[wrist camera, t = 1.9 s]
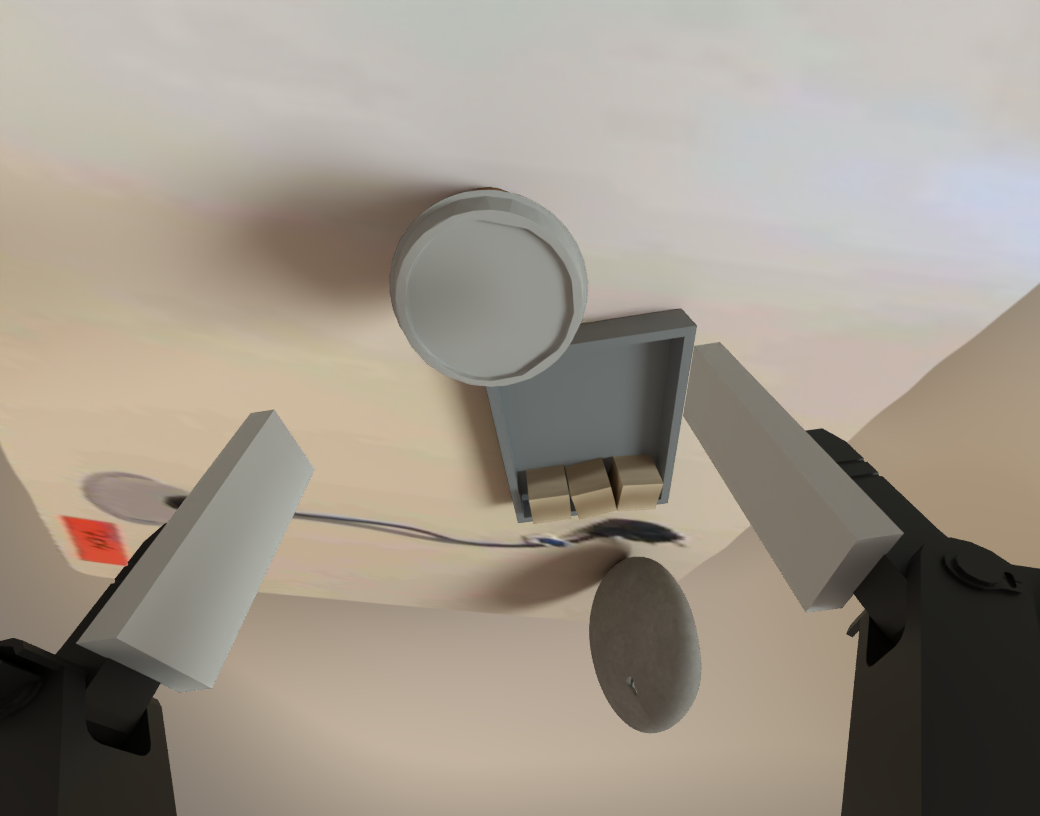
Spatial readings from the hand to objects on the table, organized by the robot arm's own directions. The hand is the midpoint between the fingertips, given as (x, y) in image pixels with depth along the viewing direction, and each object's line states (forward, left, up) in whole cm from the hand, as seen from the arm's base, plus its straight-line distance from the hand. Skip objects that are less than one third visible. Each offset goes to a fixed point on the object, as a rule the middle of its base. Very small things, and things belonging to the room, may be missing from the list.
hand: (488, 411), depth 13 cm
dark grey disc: (+47, +10, -19) cm, 52 cm away
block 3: (+25, +11, -19) cm, 33 cm away
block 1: (+25, +2, -19) cm, 31 cm away
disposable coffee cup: (0, 0, -19) cm, 19 cm away
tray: (+18, +6, -19) cm, 27 cm away
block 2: (+25, +6, -19) cm, 32 cm away
